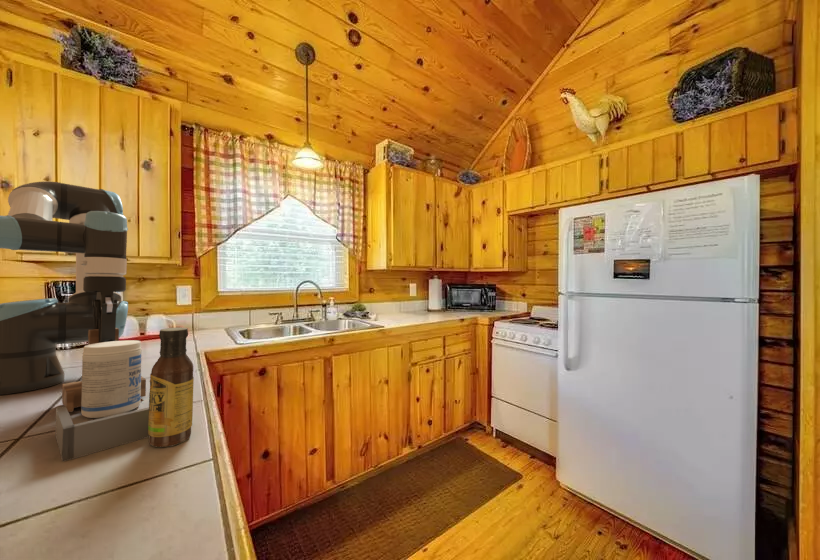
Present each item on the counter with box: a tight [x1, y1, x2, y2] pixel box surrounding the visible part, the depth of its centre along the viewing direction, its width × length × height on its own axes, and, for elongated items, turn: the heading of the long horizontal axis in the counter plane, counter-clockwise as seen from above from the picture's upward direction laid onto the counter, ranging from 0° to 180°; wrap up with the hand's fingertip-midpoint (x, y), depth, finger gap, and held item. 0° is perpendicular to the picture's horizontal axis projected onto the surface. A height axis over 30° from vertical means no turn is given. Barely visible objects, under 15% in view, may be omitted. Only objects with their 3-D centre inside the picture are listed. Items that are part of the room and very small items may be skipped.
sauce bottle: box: [148, 326, 195, 448], centre depth 57 cm, size 6×6×20 cm
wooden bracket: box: [61, 328, 147, 413], centre depth 75 cm, size 10×13×16 cm
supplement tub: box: [80, 339, 142, 419], centre depth 70 cm, size 10×10×15 cm
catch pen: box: [54, 405, 150, 462], centre depth 61 cm, size 14×17×5 cm
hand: (103, 372), depth 77 cm, fingers closed on wooden bracket, 3 cm apart
